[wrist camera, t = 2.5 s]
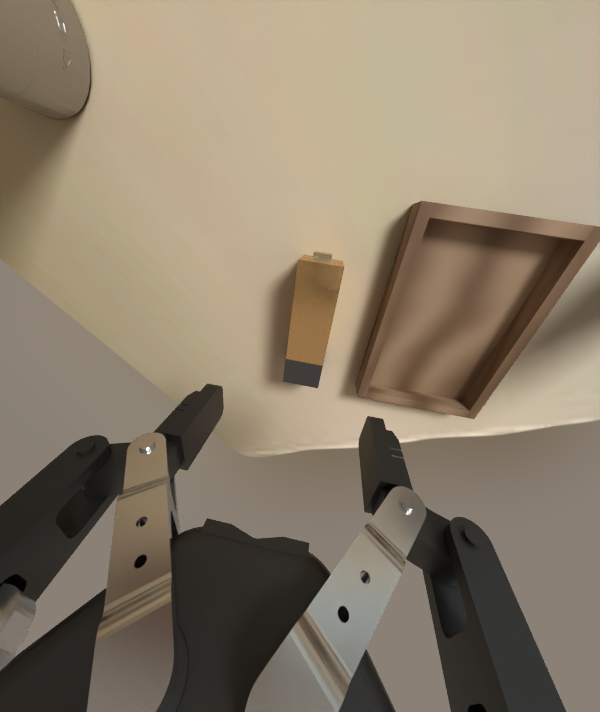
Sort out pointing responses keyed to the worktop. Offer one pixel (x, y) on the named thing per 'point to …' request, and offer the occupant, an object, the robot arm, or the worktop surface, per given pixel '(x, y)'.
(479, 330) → the brown wooden tray
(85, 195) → the worktop surface
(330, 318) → the battery cell
